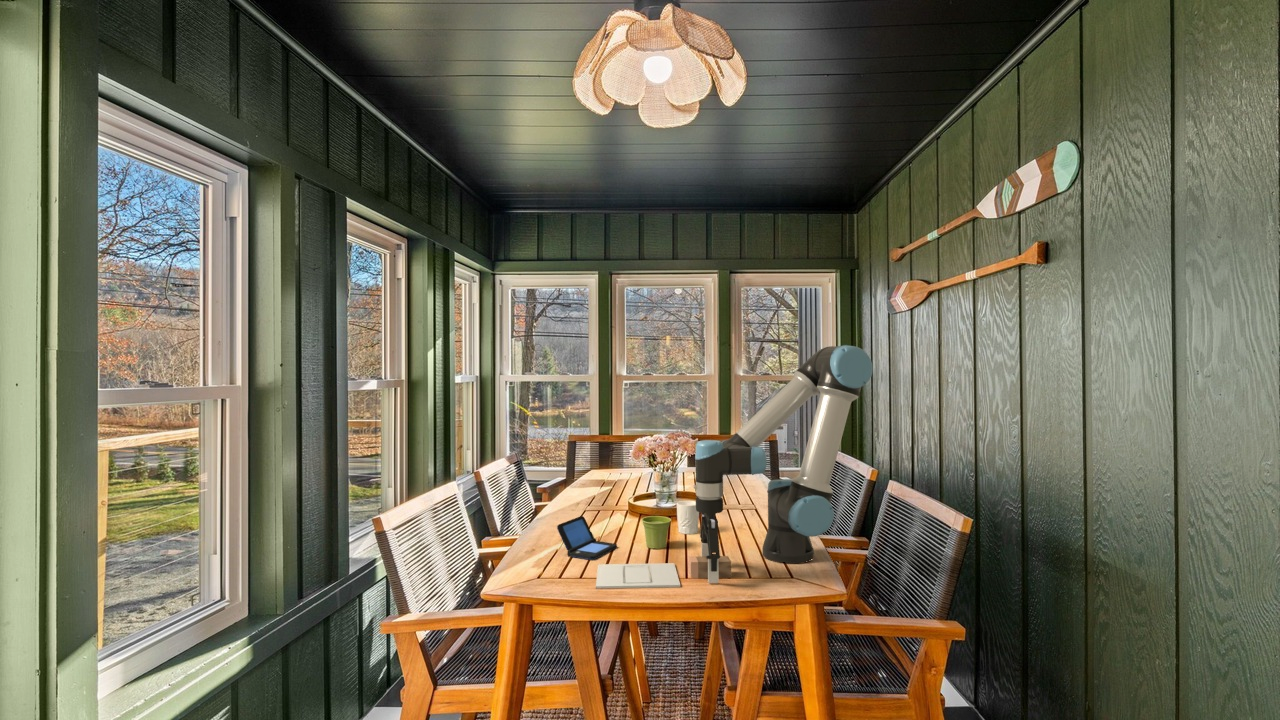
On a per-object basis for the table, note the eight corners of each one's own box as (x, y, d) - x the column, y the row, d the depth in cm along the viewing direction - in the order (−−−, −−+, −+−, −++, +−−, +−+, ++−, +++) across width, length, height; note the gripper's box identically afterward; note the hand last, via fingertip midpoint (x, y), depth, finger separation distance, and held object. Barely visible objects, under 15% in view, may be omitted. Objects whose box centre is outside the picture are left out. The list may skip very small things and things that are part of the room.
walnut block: (728, 572, 178) (727, 556, 178) (731, 578, 173) (731, 561, 173) (688, 572, 178) (688, 556, 178) (690, 578, 173) (690, 562, 173)
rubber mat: (674, 565, 184) (674, 563, 184) (680, 587, 166) (680, 584, 166) (597, 566, 184) (597, 564, 184) (595, 588, 166) (595, 586, 166)
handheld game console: (593, 561, 189) (592, 530, 189) (555, 555, 195) (555, 525, 195) (618, 548, 203) (618, 518, 203) (582, 542, 209) (582, 514, 209)
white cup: (672, 530, 222) (672, 502, 222) (691, 527, 226) (691, 499, 226) (684, 536, 215) (684, 506, 215) (704, 533, 219) (703, 503, 219)
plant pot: (660, 540, 210) (660, 514, 210) (677, 547, 202) (676, 520, 202) (636, 545, 205) (636, 518, 205) (652, 552, 197) (652, 524, 197)
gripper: (690, 488, 188) (690, 560, 188) (701, 507, 163) (702, 590, 163) (715, 487, 188) (716, 559, 188) (730, 507, 163) (731, 590, 163)
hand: (709, 574), depth 176 cm, fingers open, 13 cm apart
